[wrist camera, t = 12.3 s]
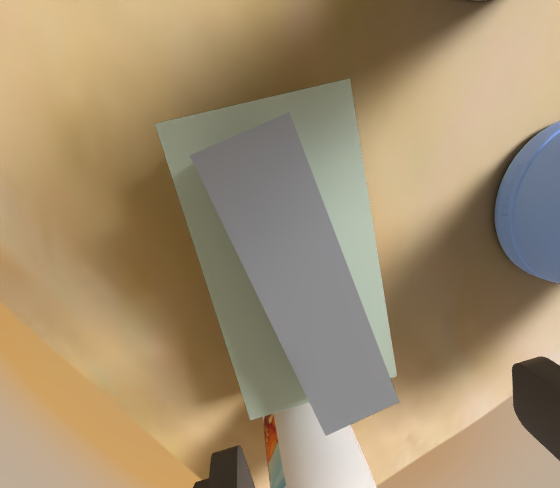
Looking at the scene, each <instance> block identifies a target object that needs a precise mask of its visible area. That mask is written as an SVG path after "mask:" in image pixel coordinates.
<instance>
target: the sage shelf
mask: <svg viewBox="0 0 560 488" xmlns="http://www.w3.org/2000/svg"><path fill="white" fill-rule="evenodd" d="M288 112H289V113H290V115H291V118H292V121H293V123H294V126H295V129H296V131H297V134H298V136H299V139H300V142H301V144H302V147H303V150H304V152H305V155H306V158H307V160H308V163H309V165H310V168H311V171H312V173H313V176H314V179H315V181H316V184H317V186H318V189H319V192H320V194H321V197H322V200H323V202H324V205H325V208H326V210H327V213H328V215H329V218H330V221H331V223H332V226H333V229H334V231H335V234H336V236H337V239H338V242H339V244H340V247H341V250H342V252H343V255H344V258H345V260H346V263H347V265H348V268H349V271H350V273H351V276H352V279H353V281H354V284H355V286H356V289H357V292H358V294H359V297H360V300H361V302H362V305H363V307H364V310H365V313H366V315H367V318H368V321H369V323H370V326H371V329H372V331H373V334H374V336H375V339H376V342H377V344H378V347H379V350H380V352H381V355H382V357H383V360H384V363H385V365H386V368H387V371H388V373H389V376H390V378H393V377H396V376H397V373H396V366H395V360H394V354H393V347H392V341H391V335H390V328H389V322H388V316H387V309H386V303H385V297H384V290H383V284H382V278H381V271H380V265H379V259H378V252H377V246H376V240H375V233H374V227H373V221H372V214H371V208H370V202H369V195H368V189H367V183H366V176H365V170H364V164H363V157H362V151H361V145H360V138H359V132H358V126H357V119H356V113H355V107H354V100H353V94H352V88H351V81H350V78H349V79H345V80H340V81H336V82H332V83H327V84H323V85H319V86H314V87H310V88H306V89H302V90H297V91H293V92H289V93H284V94H280V95H276V96H271V97H267V98H263V99H258V100H254V101H250V102H246V103H241V104H237V105H233V106H228V107H224V108H220V109H215V110H211V111H207V112H202V113H198V114H194V115H189V116H185V117H181V118H177V119H172V120H168V121H164V122H159V123H155V126H156V129H157V133H158V136H159V139H160V142H161V145H162V148H163V151H164V154H165V157H166V160H167V164H168V167H169V170H170V173H171V176H172V179H173V182H174V185H175V188H176V192H177V195H178V198H179V201H180V204H181V207H182V210H183V213H184V216H185V219H186V223H187V226H188V229H189V232H190V235H191V238H192V241H193V244H194V247H195V250H196V254H197V257H198V260H199V263H200V266H201V269H202V272H203V275H204V278H205V281H206V285H207V288H208V291H209V294H210V297H211V300H212V303H213V306H214V309H215V312H216V316H217V319H218V322H219V325H220V328H221V331H222V334H223V337H224V340H225V343H226V347H227V350H228V353H229V356H230V359H231V362H232V365H233V368H234V371H235V375H236V378H237V381H238V384H239V387H240V390H241V393H242V396H243V399H244V402H245V406H246V409H247V412H248V415H249V418H250V420H254V419H257V418H260V417H264V416H267V415H270V414H273V413H277V412H280V411H283V410H287V409H290V408H293V407H297V406H300V405H303V404H307V403H309V401H308V399H307V397H306V394H305V392H304V390H303V388H302V386H301V384H300V382H299V380H298V378H297V376H296V374H295V372H294V370H293V368H292V366H291V364H290V361H289V359H288V357H287V355H286V353H285V351H284V349H283V347H282V345H281V343H280V341H279V339H278V337H277V335H276V333H275V331H274V328H273V326H272V324H271V322H270V320H269V318H268V316H267V314H266V312H265V310H264V308H263V306H262V304H261V302H260V300H259V298H258V296H257V293H256V291H255V289H254V287H253V285H252V283H251V281H250V279H249V277H248V275H247V273H246V271H245V269H244V267H243V265H242V263H241V260H240V258H239V256H238V254H237V252H236V250H235V248H234V246H233V244H232V242H231V240H230V238H229V236H228V234H227V232H226V230H225V227H224V225H223V223H222V221H221V219H220V217H219V215H218V213H217V211H216V209H215V207H214V205H213V203H212V201H211V199H210V197H209V195H208V192H207V190H206V188H205V186H204V184H203V182H202V180H201V178H200V176H199V174H198V172H197V170H196V168H195V166H194V164H193V162H192V159H191V157H190V155H192V154H194V153H197V152H199V151H201V150H203V149H206V148H208V147H210V146H213V145H215V144H217V143H219V142H222V141H224V140H226V139H229V138H231V137H233V136H236V135H238V134H240V133H242V132H245V131H247V130H249V129H252V128H254V127H256V126H258V125H261V124H263V123H265V122H268V121H270V120H272V119H274V118H277V117H279V116H281V115H284V114H286V113H288Z"/></svg>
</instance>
